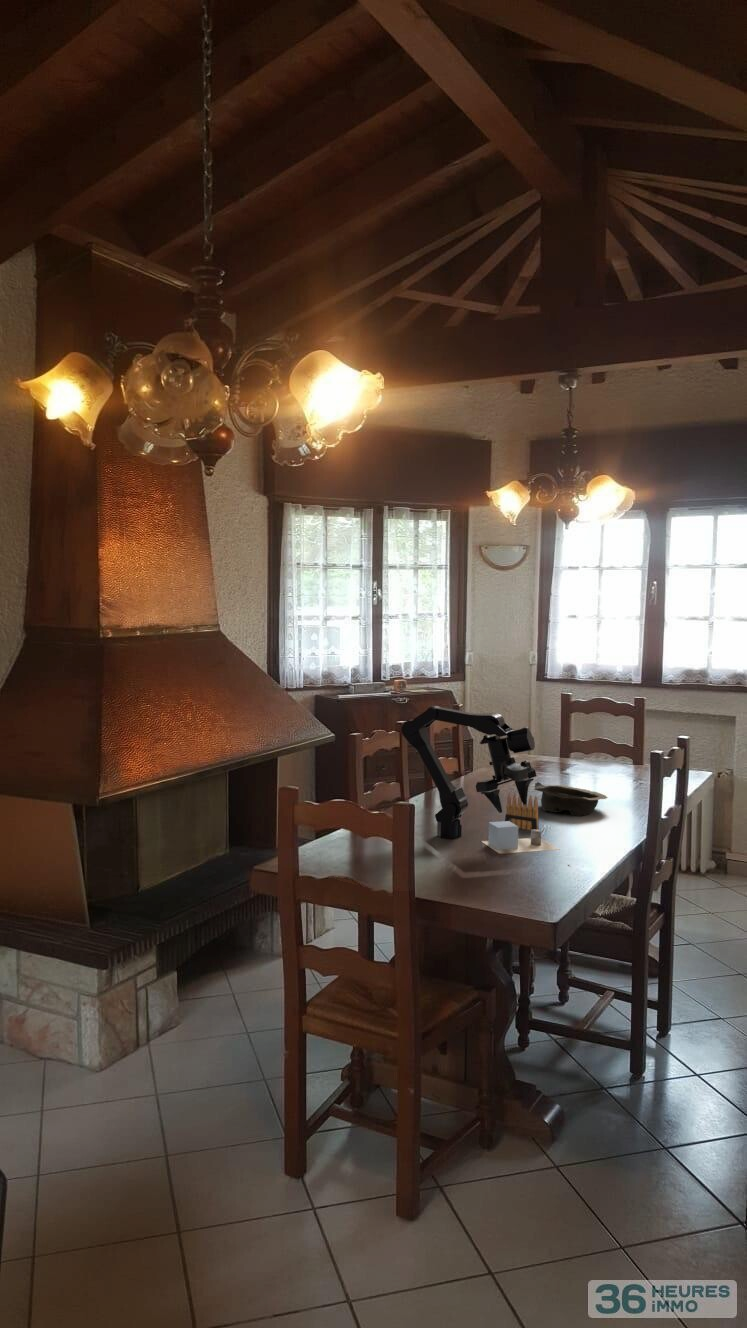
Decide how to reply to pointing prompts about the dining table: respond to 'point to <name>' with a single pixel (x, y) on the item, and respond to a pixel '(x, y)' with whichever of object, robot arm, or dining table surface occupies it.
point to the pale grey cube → (503, 835)
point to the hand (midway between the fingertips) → (512, 808)
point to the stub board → (528, 844)
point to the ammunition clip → (522, 813)
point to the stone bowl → (568, 799)
